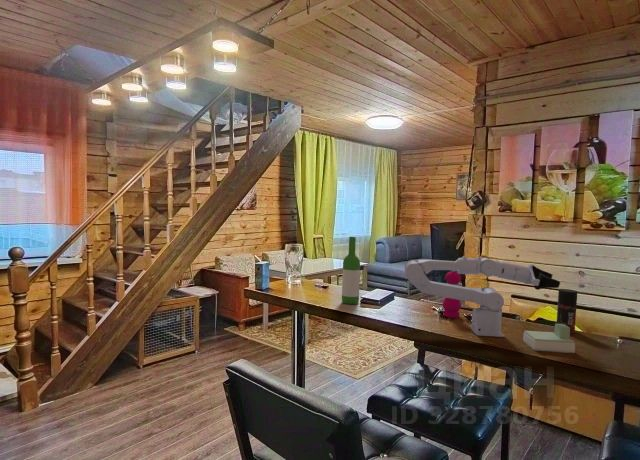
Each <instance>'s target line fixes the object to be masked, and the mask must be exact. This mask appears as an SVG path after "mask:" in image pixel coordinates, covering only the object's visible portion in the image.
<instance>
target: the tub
mask: <svg viewBox="0 0 640 460" xmlns="http://www.w3.org/2000/svg"><path fill="white" fill-rule="evenodd" d="M522 337H523V338H522V341H523V342H524V343H525V344H526V345H527V347H529V348H530V347H531V348H530V349H531V350H533V351H537V352H550V353H551V352H552V353H563V354H565V353H566V354H575V352H576V342H574V344H573V343H557V342H542V341H534V340H533V339H532V338H531V337H529V336H528V335H527V334H526V333H524V332H523V334H522Z"/></svg>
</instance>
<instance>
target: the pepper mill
mask: <svg viewBox="0 0 640 460" xmlns="http://www.w3.org/2000/svg"><path fill="white" fill-rule="evenodd" d="M461 280H462V276H461V274H459V273H458V272H457V271H456V270H450V271H448V272H447V273H446V274H445V281H446V283H445V284H451V285H456V286H460V282H461ZM461 302H462V301H461V300H458V299H452V298H447V297H444V299H443V301H442V308H443V309H444V310H443V312H442V313H443V314H444V315H443V314H442V315H443V316H444V317H445V316H446V317H445V318H449V319H458V318H460V313H461V312H459V311H460V310H461V308H462V303H461Z"/></svg>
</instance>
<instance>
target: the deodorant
mask: <svg viewBox="0 0 640 460" xmlns="http://www.w3.org/2000/svg"><path fill="white" fill-rule="evenodd" d="M557 293H558V295H557V310H556V311H557V312H556V323H555V324H565V325H566V326H568V327H570V334H574V333H575V332H576V321H577V320H576V317H577V304H578V303H577V302H578V291H577V290H574V289H567V288H566V289H565V288H559V289H558V292H557Z"/></svg>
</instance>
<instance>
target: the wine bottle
mask: <svg viewBox="0 0 640 460" xmlns="http://www.w3.org/2000/svg"><path fill="white" fill-rule="evenodd" d="M356 243H357V242H356V236H349V238H348V254H347V255H345V257H344V259H343V261H342V278H341V279H342V284H341V302H342V303H343V304H346V305H356V304H358V303H359V301H360V278H361V276H360V275H361V261H360V258H359V257H358V256H357V254H356Z"/></svg>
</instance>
